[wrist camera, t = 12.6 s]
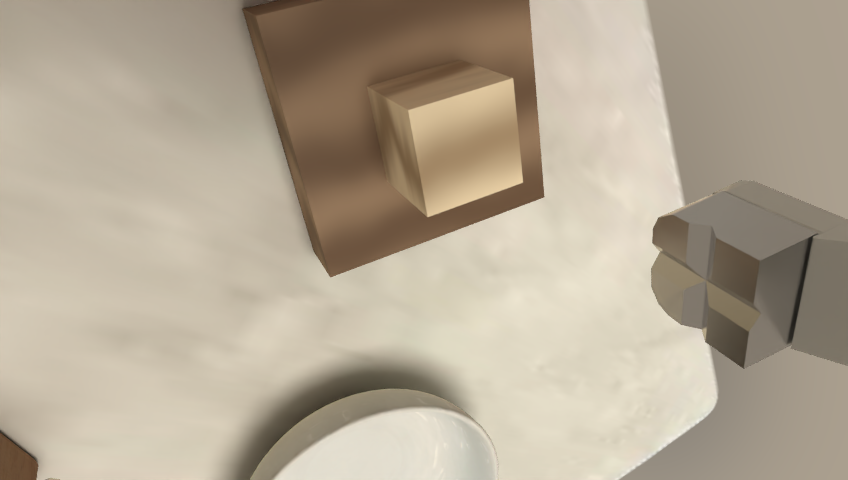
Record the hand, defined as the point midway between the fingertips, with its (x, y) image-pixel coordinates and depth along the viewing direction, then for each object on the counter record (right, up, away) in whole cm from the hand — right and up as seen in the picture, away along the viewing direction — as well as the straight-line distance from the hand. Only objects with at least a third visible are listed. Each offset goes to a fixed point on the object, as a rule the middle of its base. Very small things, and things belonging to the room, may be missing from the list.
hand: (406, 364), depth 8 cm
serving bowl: (-6, -17, +44) cm, 48 cm away
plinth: (-1, +10, +33) cm, 35 cm away
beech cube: (0, +9, +30) cm, 31 cm away
